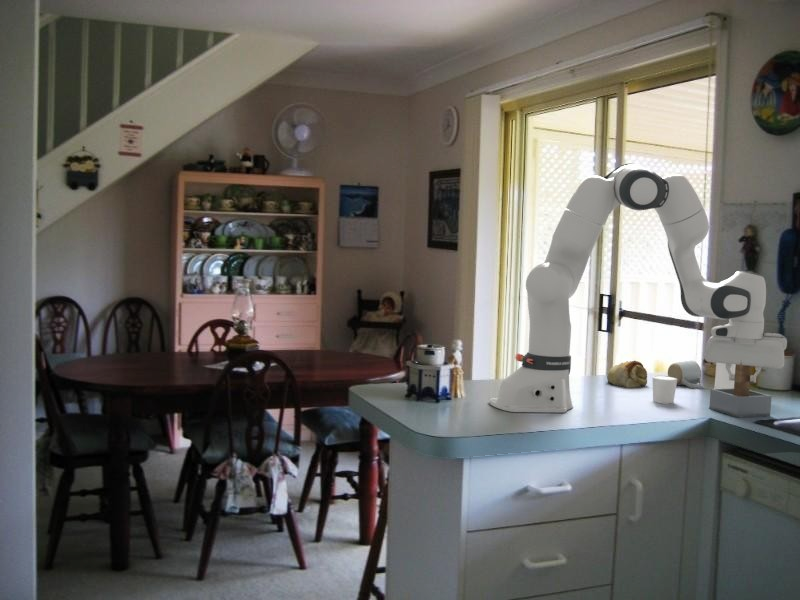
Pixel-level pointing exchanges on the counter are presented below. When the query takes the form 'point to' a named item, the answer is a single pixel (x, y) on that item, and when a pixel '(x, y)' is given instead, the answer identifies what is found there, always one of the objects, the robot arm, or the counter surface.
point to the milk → (723, 376)
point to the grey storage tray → (740, 403)
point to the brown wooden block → (742, 380)
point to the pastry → (628, 375)
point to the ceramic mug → (686, 373)
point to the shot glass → (664, 389)
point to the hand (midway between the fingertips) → (742, 381)
